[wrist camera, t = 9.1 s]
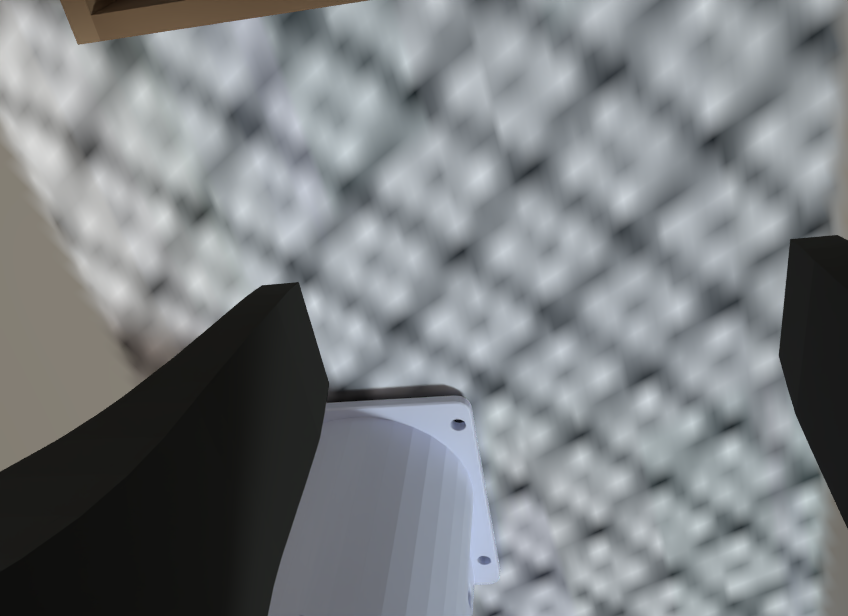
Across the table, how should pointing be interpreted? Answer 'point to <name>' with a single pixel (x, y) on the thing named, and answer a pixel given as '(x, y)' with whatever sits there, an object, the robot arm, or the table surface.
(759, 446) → the table surface
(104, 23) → the wooden tray
